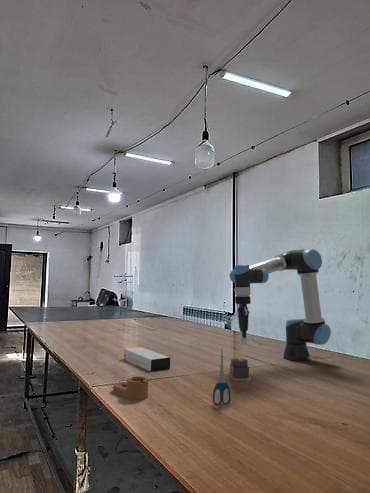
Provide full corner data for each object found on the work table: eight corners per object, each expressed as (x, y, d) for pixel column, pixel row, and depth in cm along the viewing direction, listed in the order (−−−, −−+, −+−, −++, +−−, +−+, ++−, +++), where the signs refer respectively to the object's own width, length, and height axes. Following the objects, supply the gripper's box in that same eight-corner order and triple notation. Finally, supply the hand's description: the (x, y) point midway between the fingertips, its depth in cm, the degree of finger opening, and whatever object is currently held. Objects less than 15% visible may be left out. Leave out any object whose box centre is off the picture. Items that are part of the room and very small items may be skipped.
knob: (229, 373, 178) (229, 356, 179) (245, 373, 179) (245, 356, 180) (233, 377, 170) (233, 360, 171) (249, 377, 171) (249, 360, 172)
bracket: (152, 397, 144) (152, 379, 144) (134, 402, 138) (135, 383, 138) (126, 387, 157) (126, 370, 157) (109, 391, 151) (109, 373, 152)
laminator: (170, 369, 189) (170, 357, 190) (149, 372, 183) (149, 359, 183) (140, 357, 218) (141, 346, 218) (121, 359, 211) (121, 348, 212)
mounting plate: (244, 374, 181) (244, 363, 181) (250, 380, 169) (250, 369, 169) (228, 374, 180) (228, 363, 180) (233, 380, 168) (233, 369, 169)
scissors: (213, 405, 135) (213, 350, 137) (212, 404, 136) (213, 349, 138) (230, 404, 137) (230, 349, 138) (229, 403, 138) (229, 348, 139)
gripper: (232, 295, 188) (233, 341, 186) (238, 296, 175) (239, 347, 173) (246, 294, 189) (247, 341, 187) (253, 296, 176) (255, 346, 174)
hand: (243, 344), depth 180 cm, fingers closed
